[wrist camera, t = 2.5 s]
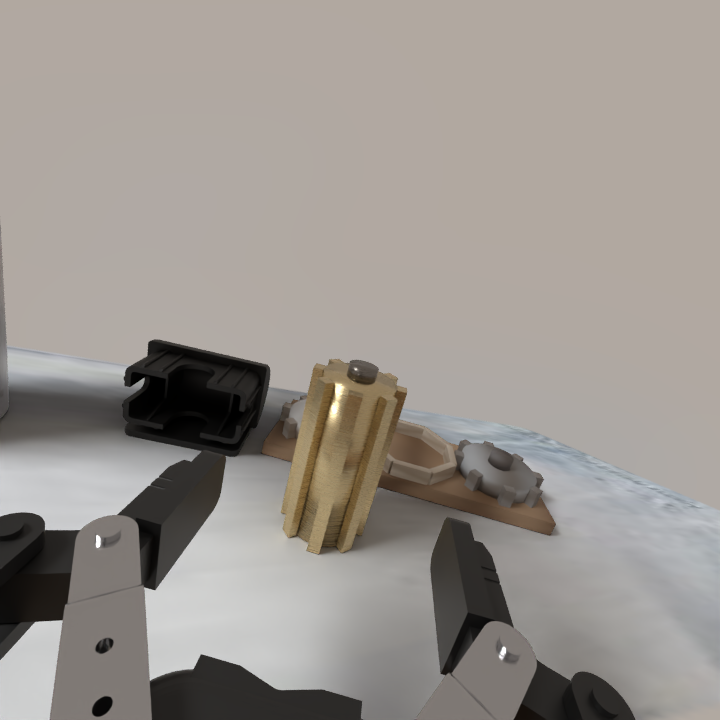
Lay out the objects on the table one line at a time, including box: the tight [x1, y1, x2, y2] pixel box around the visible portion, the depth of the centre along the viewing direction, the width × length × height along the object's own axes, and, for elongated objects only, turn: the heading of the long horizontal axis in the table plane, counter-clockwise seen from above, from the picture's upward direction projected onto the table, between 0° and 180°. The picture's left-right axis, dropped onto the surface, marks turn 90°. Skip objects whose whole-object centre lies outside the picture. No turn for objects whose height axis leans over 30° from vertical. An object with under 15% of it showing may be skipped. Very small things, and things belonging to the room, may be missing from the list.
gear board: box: [262, 396, 556, 535], centre depth 35 cm, size 25×9×4 cm, turn 83°
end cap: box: [122, 340, 270, 457], centre depth 32 cm, size 10×7×7 cm
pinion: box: [281, 359, 407, 554], centre depth 24 cm, size 6×6×12 cm
